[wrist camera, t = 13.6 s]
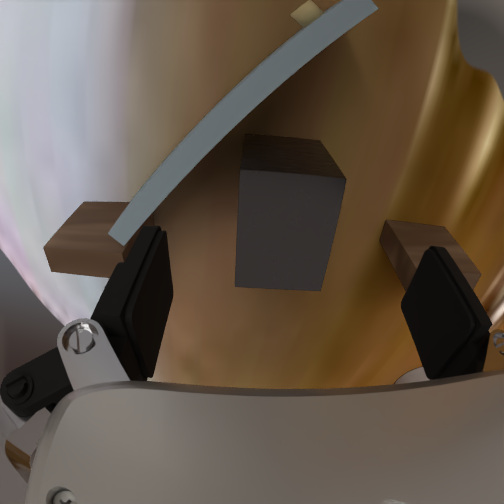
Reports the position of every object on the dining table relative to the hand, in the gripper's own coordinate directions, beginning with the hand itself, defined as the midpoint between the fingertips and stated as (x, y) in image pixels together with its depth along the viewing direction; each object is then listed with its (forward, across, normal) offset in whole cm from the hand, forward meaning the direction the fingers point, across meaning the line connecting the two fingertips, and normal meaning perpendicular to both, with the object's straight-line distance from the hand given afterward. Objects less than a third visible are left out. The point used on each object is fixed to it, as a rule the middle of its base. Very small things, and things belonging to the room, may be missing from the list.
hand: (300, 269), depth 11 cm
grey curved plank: (+12, +4, -4) cm, 13 cm away
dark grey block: (+12, 0, +2) cm, 12 cm away
